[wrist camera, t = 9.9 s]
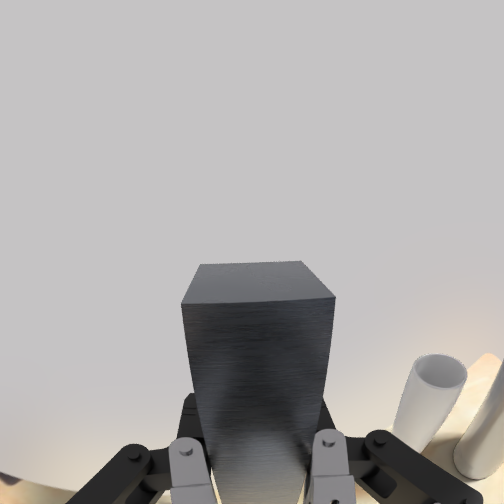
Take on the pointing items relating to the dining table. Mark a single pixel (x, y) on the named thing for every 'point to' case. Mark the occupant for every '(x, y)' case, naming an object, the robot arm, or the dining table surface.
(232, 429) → the square bit
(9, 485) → the dining table surface
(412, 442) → the drinking glass
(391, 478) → the robot arm
